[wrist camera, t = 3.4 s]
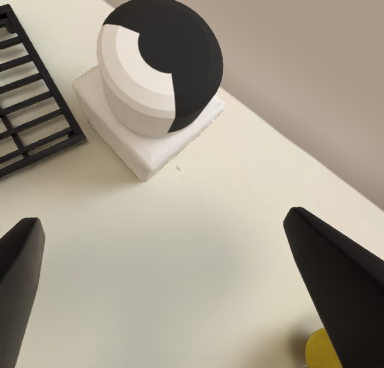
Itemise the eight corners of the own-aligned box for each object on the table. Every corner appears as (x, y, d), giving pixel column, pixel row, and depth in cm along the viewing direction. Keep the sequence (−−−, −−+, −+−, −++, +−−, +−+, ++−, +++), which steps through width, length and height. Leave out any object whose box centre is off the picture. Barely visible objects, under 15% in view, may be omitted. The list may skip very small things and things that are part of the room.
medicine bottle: (149, 76, 23) (171, -54, 12) (200, 135, 24) (267, 66, 12) (87, 122, 22) (40, 22, 10) (143, 184, 22) (160, 157, 11)
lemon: (285, 318, 24) (357, 370, 17) (332, 309, 26) (419, 353, 18) (290, 379, 24) (367, 460, 16) (337, 366, 25) (429, 435, 18)
